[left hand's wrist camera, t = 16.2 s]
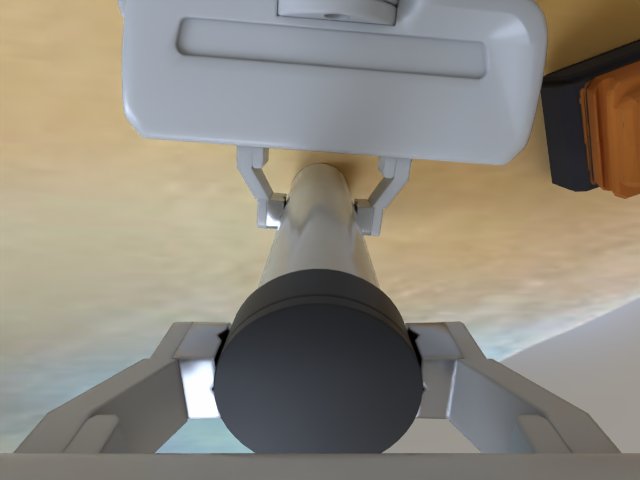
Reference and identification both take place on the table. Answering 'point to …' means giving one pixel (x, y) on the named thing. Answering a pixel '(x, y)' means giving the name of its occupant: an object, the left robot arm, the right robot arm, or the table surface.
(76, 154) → the table surface
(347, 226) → the white cylinder
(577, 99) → the power drill
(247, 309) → the lid
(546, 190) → the table surface
